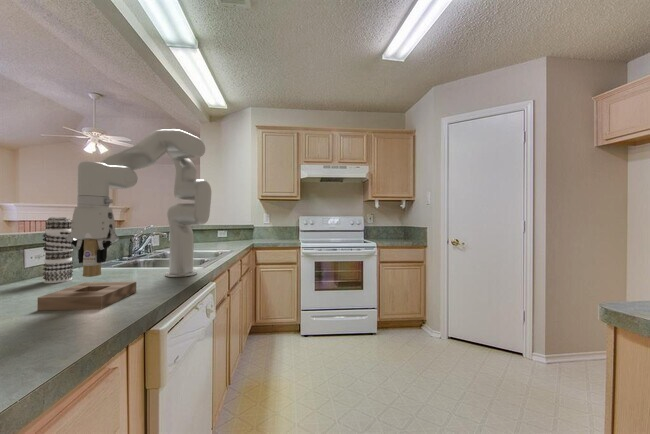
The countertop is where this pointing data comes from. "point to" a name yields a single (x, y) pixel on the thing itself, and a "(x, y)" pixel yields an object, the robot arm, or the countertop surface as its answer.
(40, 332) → the countertop surface
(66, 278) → the decorative candle
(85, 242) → the sprinkles bottle
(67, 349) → the countertop surface
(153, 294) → the countertop surface
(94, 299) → the walnut hole board
